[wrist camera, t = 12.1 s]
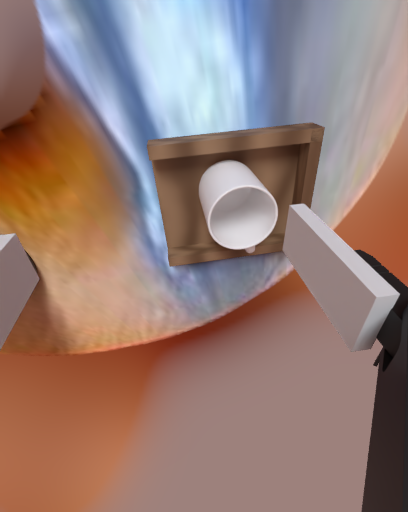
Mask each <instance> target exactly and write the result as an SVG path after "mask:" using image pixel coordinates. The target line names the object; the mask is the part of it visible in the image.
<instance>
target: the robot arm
mask: <svg viewBox="0 0 408 512" xmlns="http://www.w3.org/2000/svg"><path fill="white" fill-rule="evenodd" d="M283 252H284V253H285V255H286V256H287V258H288V259H289V261H290V262H291V264H292V265H293V267H294V268H295V269H296V271H297V272H298V274H299V275H300V277H301V278H302V280H303V281H304V283H305V284H306V286H307V287H308V289H309V290H310V292H311V293H312V295H313V296H314V297H315V299H316V300H317V302H318V303H319V305H320V306H321V308H322V309H323V311H324V312H325V314H326V315H327V317H328V318H329V320H330V321H331V323H332V324H333V326H334V327H335V329H336V330H337V332H338V333H339V335H340V336H341V338H342V339H343V341H344V342H345V344H346V345H347V346H348V348H349V349H350V351H351V352H354V351H360V350H367V349H371V348H372V346H373V344H374V342H375V340H376V338H377V339H378V340H379V342H380V343H381V344H382V345H383V348H382V350H381V352H380V354H379V355H378V357H377V359H376V360H375V362H374V366H377V365H378V363H379V369H378V377H377V385H376V394H375V402H374V411H373V419H372V428H371V437H370V445H369V453H368V462H367V470H366V479H365V487H364V496H363V505H362V512H408V287H407V286H405V285H404V284H403V283H402V282H401V281H400V280H399V279H397V278H396V277H395V276H394V275H393V274H392V273H389V271H388V270H387V269H386V268H385V267H384V266H382V265H381V263H380V262H378V261H377V260H376V259H375V258H374V257H373V256H371V255H369V254H367V253H365V252H363V251H361V250H353V249H352V248H351V247H350V246H348V245H347V244H346V243H345V242H344V241H343V240H342V239H341V238H340V237H338V235H337V234H336V233H334V231H333V230H332V229H330V228H329V227H328V226H327V225H326V224H325V223H324V222H323V221H322V220H321V219H320V218H319V217H318V216H317V215H316V214H315V213H313V212H312V211H311V210H310V209H309V208H308V207H307V206H306V205H305V204H295V205H289V211H288V218H287V224H286V230H285V237H284V243H283ZM38 281H39V277H38V275H37V270H36V267H35V264H34V263H33V261H32V259H31V258H30V256H29V255H28V254H27V253H26V252H25V250H24V249H23V247H22V245H21V243H20V241H19V239H18V237H17V235H16V234H6V235H0V350H1V348H2V346H3V344H4V342H5V341H6V339H7V337H8V335H9V333H10V332H11V330H12V328H13V326H14V324H15V323H16V321H17V319H18V317H19V315H20V314H21V312H22V310H23V308H24V306H25V305H26V303H27V301H28V299H29V297H30V296H31V294H32V292H33V290H34V288H35V287H36V285H37V283H38Z"/></svg>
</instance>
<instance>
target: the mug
mask: <svg viewBox="0 0 408 512" xmlns="http://www.w3.org/2000/svg"><path fill="white" fill-rule="evenodd" d="M199 198H200V202H201V205H202V208H203V212H204V215H205V219H206V222H207V226H208V229H209V232H210V234H211V236H212V238H213V239H214V240H215V241H216V242H217V243H218V244H220V245H221V246H223V247H226V248H229V249H236V250H239V249H245V250H246V252H247V253H253V252H254V251H255V245H257V244H259V243H260V242H262V241H263V240H264V239H266V238H267V237H268V236H269V234H270V233H271V232H272V230H273V229H274V227H275V224H276V222H277V217H278V207H277V204H276V201H275V199H274V197H273V196H272V195H271V194H270V192H269V191H268V190H267V189H266V188H265V187H264V185H263V184H262V183H261V182H260V181H259V179H258V178H257V177H256V176H255V175H254V174H253V172H252V171H251V170H250V169H249V168H248V167H247V166H245V165H244V164H242V163H241V162H238V161H235V160H223V161H220V162H217V163H215V164H213V165H212V166H210V167H209V168H208V169H207V170H206V171H205V173H204V174H203V176H202V178H201V180H200V183H199Z"/></svg>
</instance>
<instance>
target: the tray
mask: <svg viewBox="0 0 408 512" xmlns="http://www.w3.org/2000/svg"><path fill="white" fill-rule="evenodd" d="M324 129H325V127H322V126H320V125H317V124H314V123H303V124H294V125H285V126H276V127H266V128H257V129H248V130H238V131H229V132H220V133H211V134H201V135H192V136H183V137H173V138H164V139H155V140H148V144H147V149H148V155H149V160H152V165H153V171H154V176H155V182H156V187H157V192H158V198H159V203H160V208H161V214H162V219H163V225H164V230H165V235H166V241H167V246H168V260H169V265H170V266H177V265H185V264H192V263H199V262H206V261H214V260H221V259H228V258H235V257H243V256H250V255H257V254H265V253H272V252H279V251H283V243H284V237H285V230H286V224H287V218H288V211H289V205H295V204H305V205H306V206H307V207H308V208H309V209H310V208H311V202H312V196H313V191H314V185H315V180H316V174H317V168H318V163H319V157H320V151H321V146H322V140H323V135H324ZM223 160H235V161H238V162H241V163H242V164H244V165H245V166H247V167H248V168H249V169H250V170H251V171H252V172H253V174H254V175H255V176H256V177H257V178H258V179H259V181H260V182H261V183H262V184H263V185H264V187H265V188H266V189H267V190H268V191H269V192H270V194H271V195H272V196H273V197H274V199H275V201H276V204H277V207H278V217H277V222H276V224H275V227H274V229H273V230H272V232H271V233H270V234H269V236H268V237H267V238H266V239H264V240H263V241H262V242H260V243H259V244H257V245H255V251H254V252H253V253H247V252H246V250H245V249H239V250H236V249H229V248H226V247H223V246H221V245H220V244H218V243H217V242H216V241H215V240H214V239H213V238H212V236H211V234H210V232H209V229H208V226H207V222H206V219H205V215H204V212H203V208H202V205H201V202H200V198H199V183H200V180H201V178H202V176H203V174H204V173H205V171H206V170H207V169H208V168H209V167H210V166H212V165H213V164H215V163H217V162H220V161H223Z"/></svg>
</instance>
